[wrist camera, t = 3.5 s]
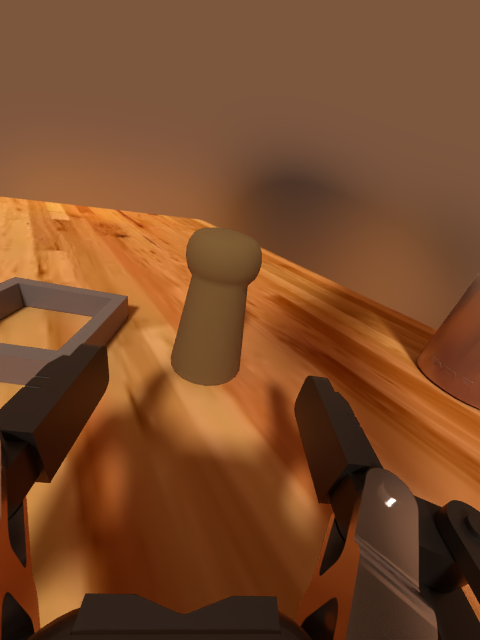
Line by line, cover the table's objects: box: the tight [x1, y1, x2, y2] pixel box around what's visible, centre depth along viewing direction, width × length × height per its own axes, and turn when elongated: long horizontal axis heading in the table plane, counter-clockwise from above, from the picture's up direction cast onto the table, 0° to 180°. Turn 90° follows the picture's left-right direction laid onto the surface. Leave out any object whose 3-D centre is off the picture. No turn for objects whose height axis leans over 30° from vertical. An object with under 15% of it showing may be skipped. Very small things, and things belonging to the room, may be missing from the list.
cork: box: [171, 228, 262, 386], centre depth 18 cm, size 6×6×11 cm
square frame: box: [0, 277, 128, 385], centre depth 19 cm, size 10×10×2 cm
